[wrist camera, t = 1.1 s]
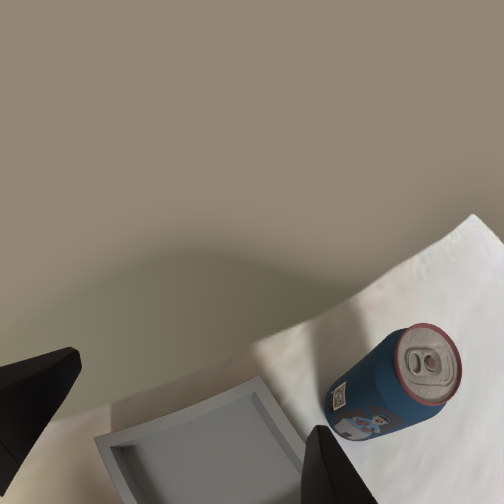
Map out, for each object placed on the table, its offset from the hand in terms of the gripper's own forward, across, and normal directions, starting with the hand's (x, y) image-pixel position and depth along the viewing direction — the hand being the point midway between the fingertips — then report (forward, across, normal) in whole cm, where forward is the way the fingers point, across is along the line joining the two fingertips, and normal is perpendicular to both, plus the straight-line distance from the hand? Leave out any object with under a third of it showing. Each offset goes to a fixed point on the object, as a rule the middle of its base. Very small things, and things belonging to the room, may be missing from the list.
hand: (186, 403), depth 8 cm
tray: (+4, -2, +15) cm, 16 cm away
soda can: (+12, -13, +11) cm, 21 cm away
